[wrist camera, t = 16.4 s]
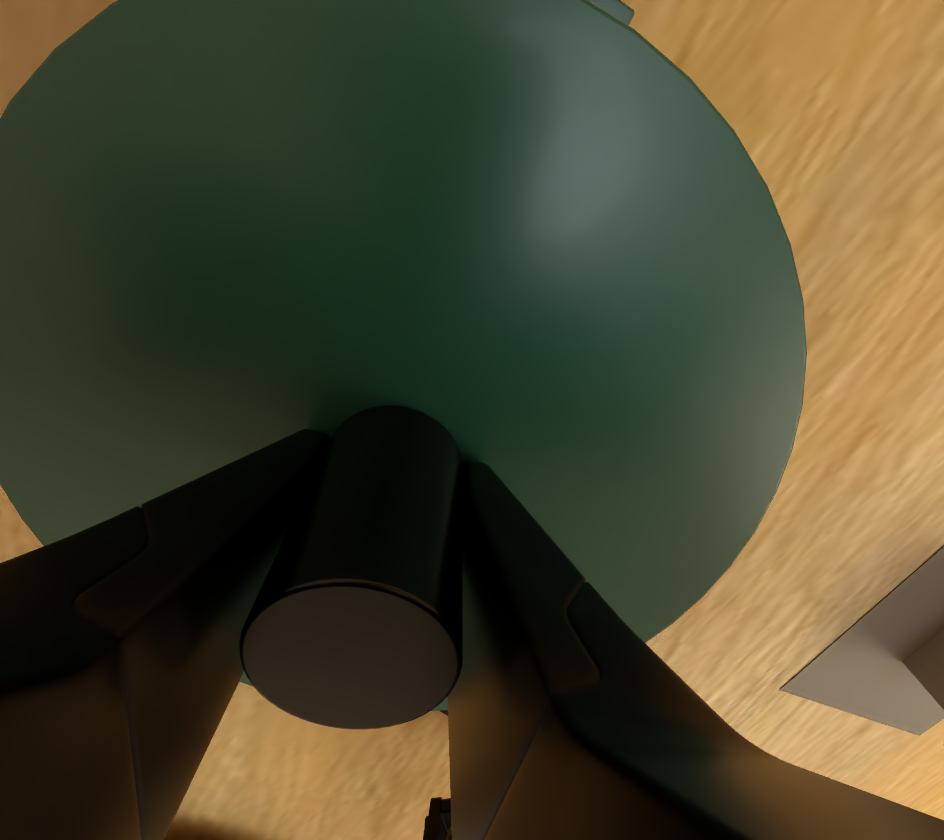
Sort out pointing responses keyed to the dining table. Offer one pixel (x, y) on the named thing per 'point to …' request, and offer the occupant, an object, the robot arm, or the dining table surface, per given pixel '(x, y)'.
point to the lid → (394, 309)
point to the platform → (888, 658)
